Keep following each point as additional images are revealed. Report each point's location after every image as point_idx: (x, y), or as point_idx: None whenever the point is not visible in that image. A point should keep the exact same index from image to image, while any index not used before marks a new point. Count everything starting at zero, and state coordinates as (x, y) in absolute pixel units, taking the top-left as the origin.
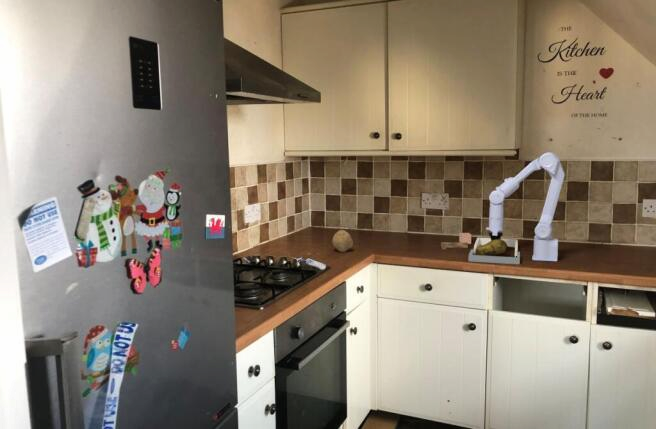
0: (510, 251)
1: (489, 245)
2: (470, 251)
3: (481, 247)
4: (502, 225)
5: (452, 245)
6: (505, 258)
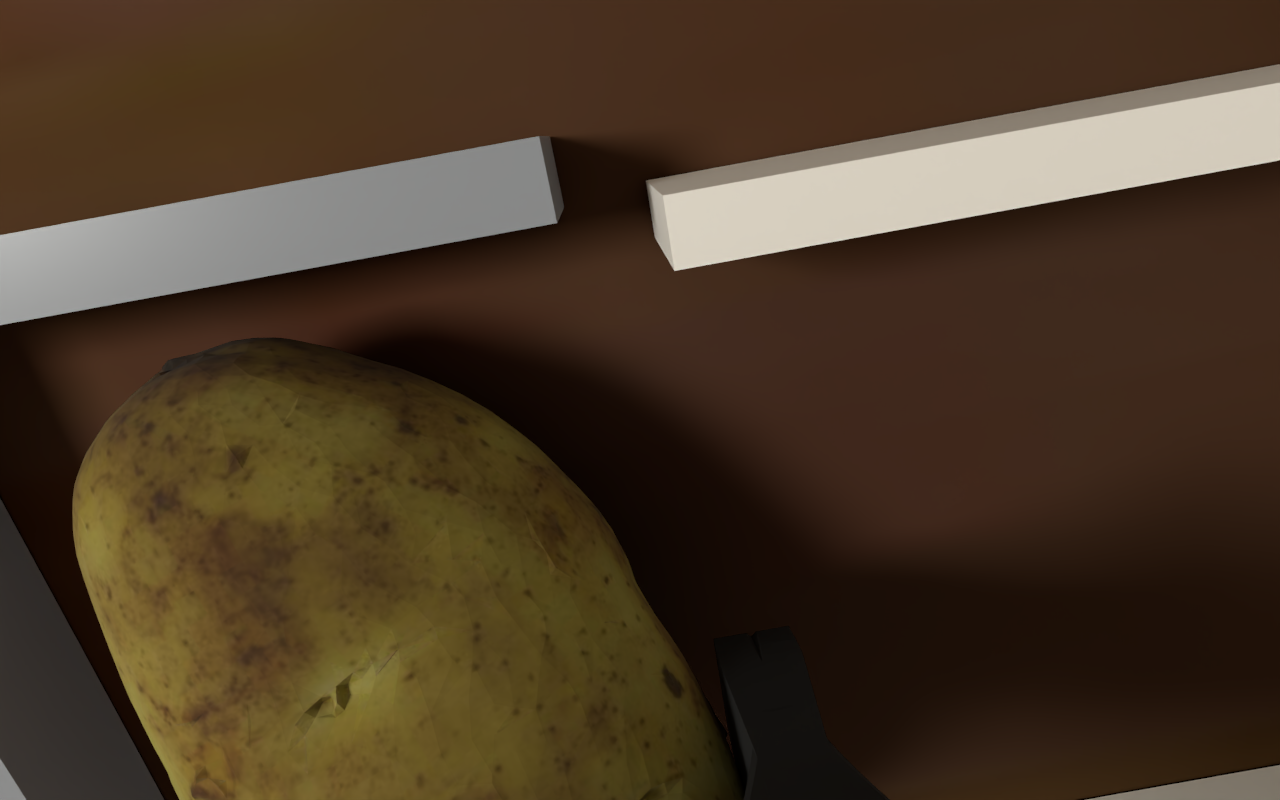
0: (1148, 731)
1: None
2: (176, 211)
3: (98, 600)
4: None
5: None
6: None
